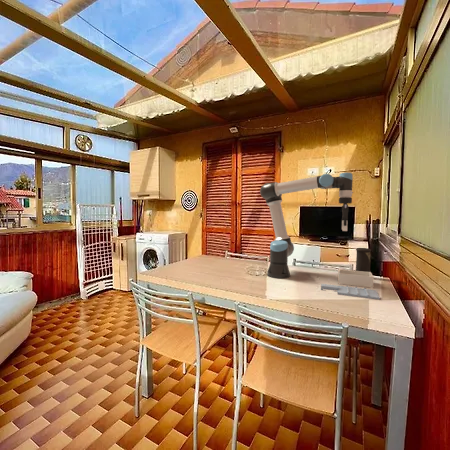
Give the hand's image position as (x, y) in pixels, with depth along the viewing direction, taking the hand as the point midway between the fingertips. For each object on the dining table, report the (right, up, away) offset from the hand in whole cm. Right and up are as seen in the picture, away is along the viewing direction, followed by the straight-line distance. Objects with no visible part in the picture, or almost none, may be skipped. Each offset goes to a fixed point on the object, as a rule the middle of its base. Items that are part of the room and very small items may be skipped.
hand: (344, 230), depth 160 cm
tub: (+1, -32, -11) cm, 34 cm away
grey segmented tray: (-10, -33, -25) cm, 43 cm away
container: (+14, -32, +4) cm, 35 cm away
